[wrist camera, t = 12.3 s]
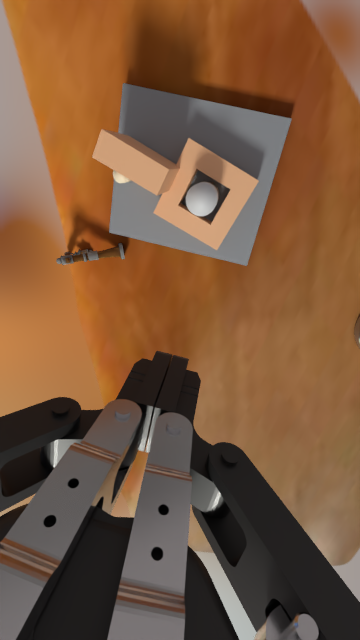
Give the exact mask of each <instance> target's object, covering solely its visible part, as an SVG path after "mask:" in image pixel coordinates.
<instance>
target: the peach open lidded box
mask: <svg viewBox="0 0 360 640" xmlns="http://www.w3.org/2000/svg"><path fill="white" fill-rule="evenodd" d="M92 157H93V158H94V159H96V160H98V161H99V162H101V163H103V164H104V165H106V166H108V167H110V168H111V169H113V170H115V171H116V172H118V173H120V174H121V175H123V176H125V177H126V178H128V179H130V180H131V181H133V182H135V183H136V184H138V185H140V186H141V187H143V188H145V189H147V190H148V191H150V192H152V193H153V194H155V195H160V194H162V196H161V198H160V200H159V202H158V204H157V206H156V208H155V210H154V212H153V213H154V214H156V215H158V216H159V217H161V218H163V219H164V220H166V221H168V222H169V223H171V224H173V225H175V226H176V227H178V228H180V229H181V230H183V231H185V232H186V233H188V234H190V235H192V236H193V237H195V238H197V239H198V240H200V241H202V242H203V243H205V244H207V245H209V246H210V247H212V248H214V249H215V250H217V249H218V248H219V246H220V245H221V243H222V241H223V240H224V238H225V236H226V235H227V233H228V231H229V230H230V228H231V226H232V225H233V223H234V221H235V220H236V218H237V216H238V215H239V213H240V212H241V210H242V208H243V207H244V205H245V203H246V202H247V200H248V198H249V197H250V195H251V193H252V192H253V190H254V188H255V187H256V185H257V183H258V182H259V180H257V179H255V178H254V177H252V176H251V175H249V174H247V173H246V172H244V171H242V170H241V169H239V168H238V167H236V166H234V165H233V164H231V163H229V162H228V161H226V160H225V159H223V158H221V157H220V156H218V155H216V154H215V153H213V152H212V151H210V150H208V149H207V148H205V147H203V146H202V145H200V144H199V143H197V142H195V141H194V140H192V139H190V138H188V140H187V143H186V145H185V147H184V149H183V151H182V153H181V155H180V157H179V160H178V162H177V164H175V163H173V162H172V161H170V160H168V159H167V158H165V157H163V156H162V155H160V154H158V153H157V152H155V151H153V150H152V149H150V148H148V147H147V146H145V145H143V144H142V143H140V142H138V141H137V140H135V139H134V138H132V137H130V136H128V135H124V134H120V133H116V132H112V131H108V130H104V129H102V130H101V133H100V135H99V138H98V141H97V144H96V147H95V150H94V153H93V156H92ZM198 170H199V171H201V172H203V173H204V174H206V175H208V176H209V177H211V178H213V179H214V180H216V181H218V182H219V183H221V184H222V185H224V186H226V187H227V188H229V189H230V191H229V193H228V195H227V196H226V198H225V200H224V202H223V203H222V205H221V207H220V209H219V211H218V212H217V214H216V216H215V218H214V219H213V221H212V222H211V221H210V220H208V219H206V218H205V217H203V216H196V215H194V214H192V213H191V212H190V211H189V209H188V208H187V207H186V206H185V205H183V204H181V203H182V201H183V199H184V197H185V195H186V193H187V191H188V189H189V187H190V185H191V183H192V181H193V179H194V177H195V175H196V173H197V171H198Z"/></svg>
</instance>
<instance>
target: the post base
mask: <svg viewBox="0 0 360 640" xmlns="http://www.w3.org/2000/svg"><path fill="white" fill-rule="evenodd" d="M290 122H291V118H286V117H281V116H277V115H272V114H267V113H262V112H258V111H253V110H248V109H243V108H239V107H234V106H229V105H224V104H220V103H215V102H210V101H205V100H201V99H196V98H191V97H186V96H182V95H177V94H172V93H167V92H163V91H158V90H153V89H148V88H144V87H139V86H134V85H130V84H125V83H123V89H122V100H121V110H120V121H119V132H118V133H120V134H124V135H128V136H130V137H132V138H134V139H135V140H137V141H138V142H140V143H142V144H143V145H145V146H147V147H148V148H150V149H152V150H153V151H155V152H157V153H158V154H160V155H162V156H163V157H165V158H167V159H168V160H170V161H172V162H173V163H175V164H177V162H178V160H179V157H180V155H181V153H182V151H183V149H184V147H185V145H186V143H187V140H188V138H190V139H192V140H194V141H195V142H197V143H199V144H200V145H202V146H203V147H205V148H207V149H208V150H210V151H212V152H213V153H215V154H216V155H218V156H220V157H221V158H223V159H225V160H226V161H228V162H229V163H231V164H233V165H234V166H236V167H238V168H239V169H241V170H242V171H244V172H246V173H247V174H249V175H251V176H252V177H254V178H255V179H257V180H259V182H258V183H257V185H256V187H255V188H254V190H253V192H252V193H251V195H250V197H249V198H248V200H247V202H246V203H245V205H244V207H243V208H242V210H241V212H240V213H239V215H238V216H237V218H236V220H235V221H234V223H233V225H232V226H231V228H230V230H229V231H228V233H227V235H226V236H225V238H224V240H223V241H222V243H221V245H220V246H219V248H218V249H217V250H215V249H214V248H212V247H210V246H209V245H207V244H205V243H203V242H202V241H200V240H198V239H197V238H195V237H193V236H192V235H190V234H188V233H186V232H185V231H183V230H181V229H180V228H178V227H176V226H175V225H173V224H171V223H169V222H168V221H166V220H164V219H163V218H161V217H159V216H158V215H156V214H154V213H153V212H154V210H155V208H156V206H157V204H158V202H159V200H160V198H161V196H162V194H160V195H155V194H153V193H152V192H150V191H148V190H147V189H145V188H143V187H141V186H140V185H138V184H136V183H135V182H133V181H131V180H130V179H128V178H126V177H125V176H123V175H121V174H120V173H118V172H116V171H115V170H114V171H113V177H114V186H113V197H112V207H111V218H110V229H109V233H113V234H117V235H122V236H126V237H130V238H134V239H138V240H142V241H146V242H151V243H155V244H159V245H163V246H167V247H171V248H175V249H180V250H184V251H188V252H192V253H196V254H200V255H204V256H208V257H213V258H217V259H221V260H225V261H229V262H233V263H237V264H242V265H246V266H247V264H248V260H249V257H250V254H251V251H252V247H253V244H254V241H255V237H256V234H257V231H258V228H259V224H260V221H261V218H262V214H263V211H264V208H265V205H266V201H267V198H268V195H269V191H270V188H271V185H272V182H273V178H274V175H275V172H276V168H277V165H278V162H279V159H280V155H281V152H282V149H283V145H284V142H285V139H286V136H287V132H288V129H289V126H290ZM229 191H230V189H229V188H227V187H226V186H224V185H222V184H221V183H219V182H218V181H216V180H214V179H213V178H211V177H209V176H208V175H206V174H204V173H203V172H201V171H199V170H198V171H197V173H196V175H195V177H194V179H193V181H192V183H191V185H190V187H189V189H188V191H187V193H186V195H185V197H184V199H183V201H182V203H181V204H183V205H185V206H186V207H187V208H188V209H189V211H190V212H191V213H192V214H194V215H196V216H203V217H205V218H206V219H208V220H210V221H211V222H212V221H213V219H214V218H215V216H216V214H217V212H218V211H219V209H220V207H221V205H222V203H223V202H224V200H225V198H226V196H227V195H228V193H229Z"/></svg>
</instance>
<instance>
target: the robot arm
mask: <svg viewBox="0 0 360 640" xmlns="http://www.w3.org/2000/svg"><path fill="white" fill-rule="evenodd" d="M354 335H355V341H356V343H357V345H358V347H359V348H360V316H359V318H358V320H357V322H356V325H355V330H354ZM171 359H172V360H171ZM188 360H189V359H187V358H183V357H179V356H176V355H173V358H172V354H168V353H164V352H160V351H156V353H155V356H154V358H153V360H152V361H151V360H147V359H143V358H142V359H141V360H139V361H138V362H136V363H135V364H134V366H133V368H132V370H131V372H130V374H129V375H128V378H127V379H126V381H125V383H124V385H123V387H122V389H121V391H120V392H119V394H118V396H117V398H116V400H114V401H111V402H110V403H108V404H107V405H106V406H105V408H104V409H100V410H81V407H80V405H79V403H78V402H77V401H75V400H73V399H71V398H67V397H58V398H54V399H51V400H48V401H45V402H42V403H39V404H36V405H34V406H31V407H28V408H25V409H22V410H19V411H16V412H14V413H11V414H8V415H5V416H2V417H0V512H1V511H3V510H5V509H7V508H9V507H11V506H12V505H14V504H16V503H18V502H20V501H22V500H24V499H26V498H28V497H30V496H32V495H33V494H35V493H36V494H35V496H34V497H33V498H32V500H31V501H30V503H29V504H26V505H23V506H20V507H18V508H16V509H13V510H11V511H9V512H8V513H6V514H4V515H2V516H1V517H0V640H239V638H238V636H237V634H236V632H235V630H234V627H233V625H232V623H231V621H230V619H229V617H228V614H227V612H226V610H225V608H224V606H223V603H222V601H221V599H220V597H219V595H218V593H217V591H216V589H215V586H214V584H213V582H212V579H211V577H210V575H209V573H208V571H207V569H206V567H205V566H204V564H203V562H202V561H201V559H200V558H199V557H198V556H197V554H196V553H195V552H194V551H193V550H192V549H191V548H190V547H189V546H188V533H189V518H190V504H192V510H193V513H194V515H195V517H196V519H197V521H198V523H199V525H200V527H201V528H202V530H203V532H204V534H205V536H206V538H207V540H208V542H209V543H210V545H211V547H212V549H213V551H214V553H215V555H216V556H217V559H218V560H219V562H220V564H221V566H222V568H223V570H224V572H225V574H226V576H227V577H228V579H229V581H230V583H231V585H232V587H233V589H234V591H235V592H236V594H237V596H238V598H239V600H240V602H241V604H242V605H243V608H244V609H245V611H246V613H247V615H248V617H249V619H250V621H251V623H252V625H253V626H254V628H255V630H256V632H257V633H256V635H255V638H254V640H360V602H359V601H358V600H357V598H356V597H355V596H354V595H353V594H352V592H351V591H350V589H349V588H348V587H347V586H346V584H345V583H344V581H343V580H342V579H341V578H340V576H339V575H338V574H337V572H336V571H335V570H334V569H333V567H332V566H331V565H330V563H329V562H328V561H327V559H326V558H325V557H324V555H323V554H322V553H321V552H320V550H319V549H318V548H317V546H316V545H315V544H314V543H313V541H312V540H311V539H310V537H309V536H308V535H307V533H306V532H305V531H304V530H303V528H302V527H301V526H300V524H299V523H298V522H297V520H296V519H295V518H294V517H293V515H292V514H291V513H290V511H289V510H288V509H287V507H286V506H285V505H284V504H283V502H282V501H281V500H280V498H279V497H278V496H277V494H276V493H275V492H274V491H273V489H272V488H271V487H270V485H269V484H268V483H267V481H266V480H265V479H264V478H263V476H262V475H261V474H260V472H259V471H258V470H257V468H256V467H255V466H254V465H253V463H252V462H251V461H250V459H249V458H248V457H247V455H246V454H245V453H244V452H243V451H242V450H241V449H240V448H239V447H237V446H235V445H233V444H231V443H226V442H221V443H217V444H215V445H211V444H209V443H207V442H206V441H204V440H203V439H202V438H200V437H199V435H198V434H197V433H196V431H195V429H194V426H193V420H194V415H195V409H196V404H197V399H198V393H199V388H200V382H201V380H200V378H199V375H198V373H197V372H193V371H189V370H186V368H187V364H188ZM147 441H148V443H147ZM146 444H147V448H146V452H148V453H149V454H148V459H147V463H146V467H145V472H144V476H143V481H142V485H141V490H140V494H139V499H138V503H137V508H136V512H135V517H134V518H127V517H113V516H111V515H110V514H111V512H112V510H113V507H114V505H115V503H116V501H117V498H118V496H119V494H120V492H121V490H122V488H123V485H124V483H125V481H126V479H127V477H128V474H129V472H130V470H131V468H132V464H133V461H134V460H135V457H136V454H137V452H138V450H140V451H144V450H145V447H146Z"/></svg>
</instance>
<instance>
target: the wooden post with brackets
mask: <svg viewBox="0 0 360 640" xmlns="http://www.w3.org/2000/svg"><path fill="white" fill-rule="evenodd" d="M118 245H119V246H117V247H114V248H110V249H107V250H103V251H98V252H97V251H92V250H88V249H85V250H80V249H79V251H78V252H77V253H76V252H75V253H74V254H73V253H70V252H66V253H65V256H61V258H58V259H57V263H58V264H61V263H62V265H64V264H71V263H73V262H78V261H84V262H87V260H89V261H91V260H99V258H105V257H121V259H125V258H124V252H123V246H122V243H118ZM72 254H73V255H72Z"/></svg>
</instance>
